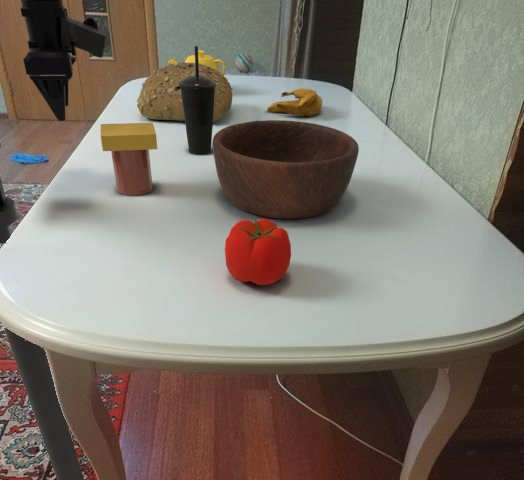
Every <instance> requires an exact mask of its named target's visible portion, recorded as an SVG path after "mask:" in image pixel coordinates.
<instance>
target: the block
mask: <svg viewBox="0 0 524 480" xmlns="http://www.w3.org/2000/svg"><path fill="white" fill-rule="evenodd" d="M100 140H101V141H100V142H101V148H102V152H111V151H124V150H149V151H150V150H158V141H157V133H156V129H155V125H154V123H153V122H130V123H129V122H128V123H125V122H123V123H101V124H100Z"/></svg>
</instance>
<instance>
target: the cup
mask: <svg viewBox="0 0 524 480" xmlns="http://www.w3.org/2000/svg"><path fill="white" fill-rule="evenodd" d="M110 152H111V159H112V166H113V172H114V179H115V187H116V191H117V192H118V193H119V194H121V195H124V196H141V195H142V196H143V195H146V194H148V193H151V192H152V191H153V179H152V178H153V177H152V169H151V157H150V150H124V151H110Z"/></svg>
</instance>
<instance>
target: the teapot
mask: <svg viewBox="0 0 524 480" xmlns="http://www.w3.org/2000/svg"><path fill="white" fill-rule="evenodd" d="M198 61H199V64H202V65H205V66H208V67H211V68H213V69H215V70H217V71H218V72H220V73H221V75H222V76H224V77H225V78H226V80H227V81H228V82H229V79H228V77H226V76H225V74H226V68H227V67H226V62H224V61H223V60H222V59H220V58H217V59H216V58H214V57H213V56H211V55H209V54H205V51H204V50H198ZM167 62H168V65H169V64H170V63H172V64H173V63H174V64H179V63H178V62H177V61H176V58H175V57H172V58H170V59H169V60H168V61H167ZM184 63H195V54H192V55H191V54H190V55H189V56H187V58H186V59H185V61H184ZM218 63H220V64H221V65H222V72H221V69H220V67H219V65H218Z"/></svg>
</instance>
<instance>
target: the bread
mask: <svg viewBox="0 0 524 480" xmlns="http://www.w3.org/2000/svg"><path fill="white" fill-rule="evenodd" d="M220 72H221V71H220ZM220 72H218V71H217V70H215V69H213V68H211V67H208V66H205V65H202V64H199V75H200V76H205V77H207V78H209V79H211V80H213V81H215V82H216V87H215V96H214V111H213V123H216V122H219V121H221V120H222V119H223V118H224V117H225V116H227V114H228V113H229V112H230V110H231V107H232V104H233V94H234V93H233V88H232V85H231V83H230V82H229V80H228V81H227V80H226V78H227V77H226V76H225V75H224V76H222V72H221V73H220ZM193 75H196V71H195V63H185V61H184V62H183V61H181V62H179V63H178V64H174V63H173V64H172V63H170V64H169V63H168V64H167V65H164V66H162V67H159V68H157V69H154V70H153V72H152V73H151V74H150V75H149V76H148V77H147V78H146V79H145V80H144V82H142V84H141V85H142V87H141V90H140V93H139V96H138V97H137V99H136V103H137V104H136V106H137V108H138V111H139V113H140V115H141V116H143V117H144V118H147V119H150V120H160V121H161V120H162V121H182V122H185V118H184V110H183V103H182V95H181V88H180V86H179V81H181V80H183V79H185V78H186V77H189V76H193ZM225 77H226V78H225Z"/></svg>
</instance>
